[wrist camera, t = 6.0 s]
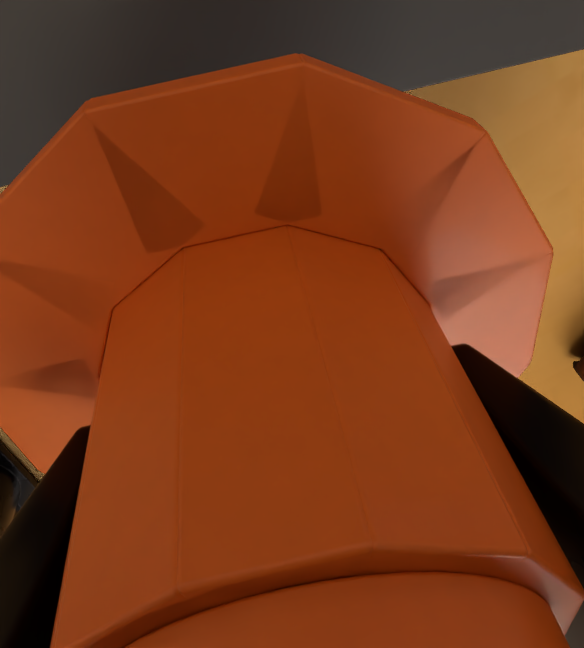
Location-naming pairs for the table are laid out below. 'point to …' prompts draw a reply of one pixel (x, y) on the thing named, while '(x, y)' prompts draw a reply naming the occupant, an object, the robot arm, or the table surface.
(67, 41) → the tv stand
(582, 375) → the sunglasses case
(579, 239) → the table surface
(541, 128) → the table surface
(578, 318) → the table surface
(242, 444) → the hat
